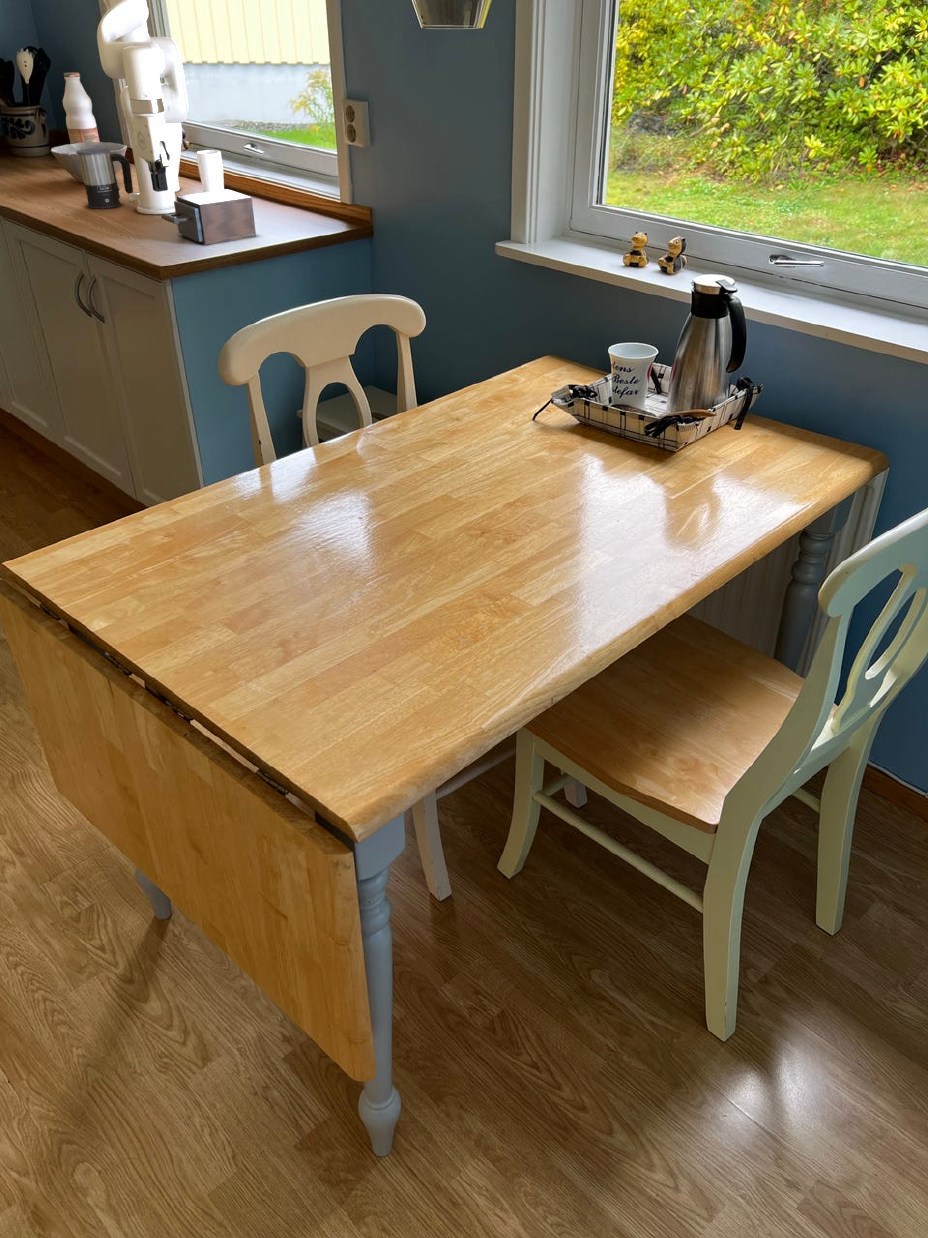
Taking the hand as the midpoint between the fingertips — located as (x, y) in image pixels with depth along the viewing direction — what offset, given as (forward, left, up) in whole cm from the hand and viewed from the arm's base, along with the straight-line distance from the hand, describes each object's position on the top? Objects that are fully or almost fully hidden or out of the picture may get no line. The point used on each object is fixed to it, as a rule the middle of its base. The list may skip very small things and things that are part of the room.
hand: (160, 190), depth 238 cm
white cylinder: (-5, +40, -13) cm, 43 cm away
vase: (-31, +61, -13) cm, 70 cm away
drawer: (+6, +7, -12) cm, 15 cm away
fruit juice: (-75, +92, -13) cm, 120 cm away
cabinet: (+9, +11, -13) cm, 19 cm away
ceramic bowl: (-59, +68, -13) cm, 91 cm away
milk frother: (-40, +40, -13) cm, 58 cm away
